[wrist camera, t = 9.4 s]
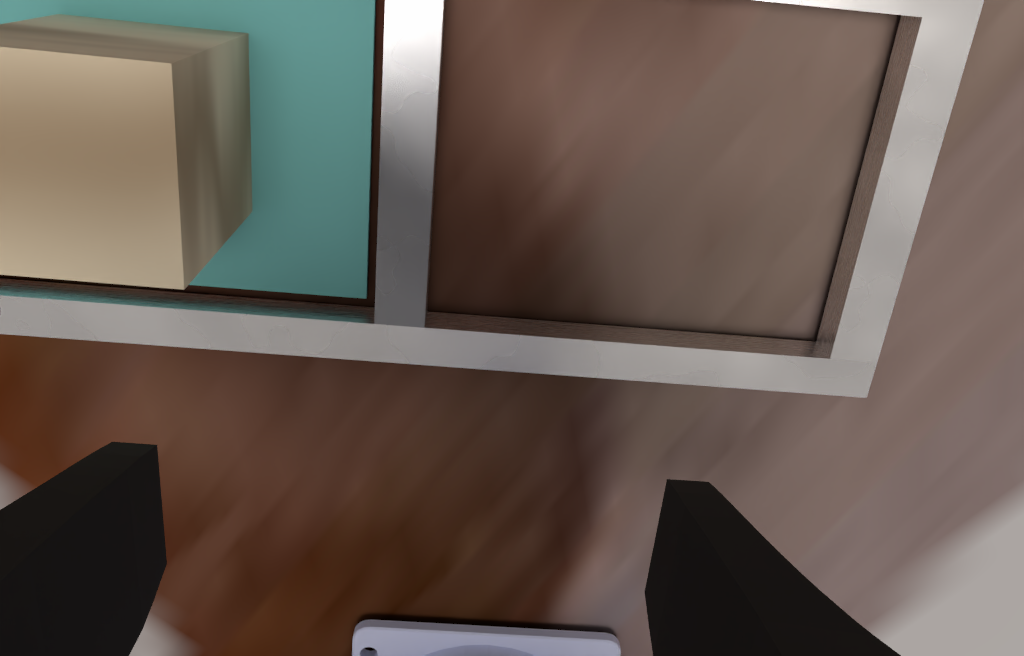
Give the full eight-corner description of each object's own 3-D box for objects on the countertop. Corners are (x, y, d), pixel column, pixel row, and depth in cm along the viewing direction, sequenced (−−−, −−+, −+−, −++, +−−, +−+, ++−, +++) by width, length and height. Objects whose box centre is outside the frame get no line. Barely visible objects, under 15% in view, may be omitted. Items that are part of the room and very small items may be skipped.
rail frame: (851, 379, 23) (866, 398, 22) (-79, 309, 21) (-104, 325, 21) (968, -31, 19) (992, -29, 18) (-169, -150, 17) (-205, -154, 17)
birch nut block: (252, 211, 20) (184, 289, 16) (77, 196, 20) (-43, 271, 16) (249, 33, 19) (170, 63, 14) (58, 14, 19) (-82, 38, 14)
